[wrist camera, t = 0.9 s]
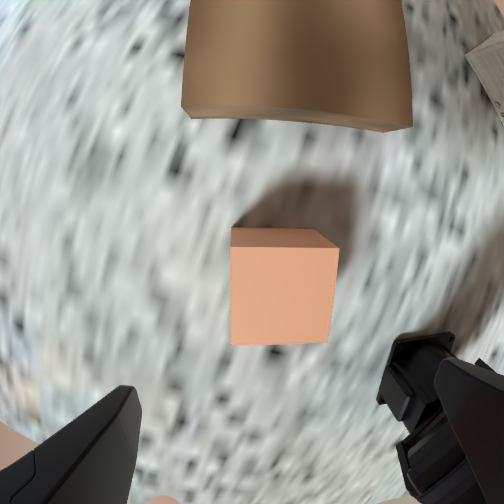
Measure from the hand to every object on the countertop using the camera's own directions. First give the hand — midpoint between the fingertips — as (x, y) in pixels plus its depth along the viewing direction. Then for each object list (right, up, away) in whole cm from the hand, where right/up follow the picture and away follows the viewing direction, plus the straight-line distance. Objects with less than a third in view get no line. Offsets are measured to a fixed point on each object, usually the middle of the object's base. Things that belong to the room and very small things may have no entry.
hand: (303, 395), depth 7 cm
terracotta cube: (0, +3, +12) cm, 12 cm away
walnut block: (+1, +17, +8) cm, 19 cm away
